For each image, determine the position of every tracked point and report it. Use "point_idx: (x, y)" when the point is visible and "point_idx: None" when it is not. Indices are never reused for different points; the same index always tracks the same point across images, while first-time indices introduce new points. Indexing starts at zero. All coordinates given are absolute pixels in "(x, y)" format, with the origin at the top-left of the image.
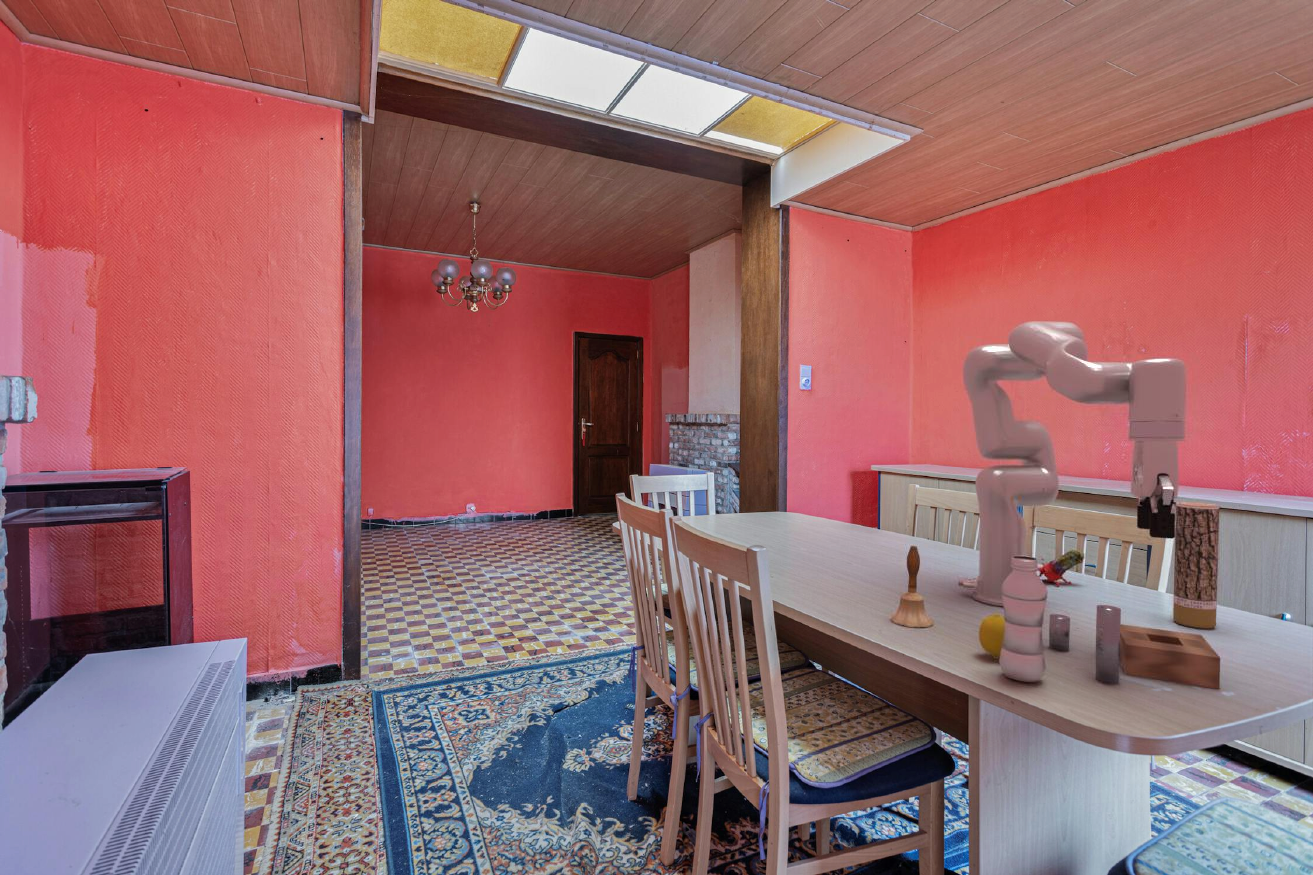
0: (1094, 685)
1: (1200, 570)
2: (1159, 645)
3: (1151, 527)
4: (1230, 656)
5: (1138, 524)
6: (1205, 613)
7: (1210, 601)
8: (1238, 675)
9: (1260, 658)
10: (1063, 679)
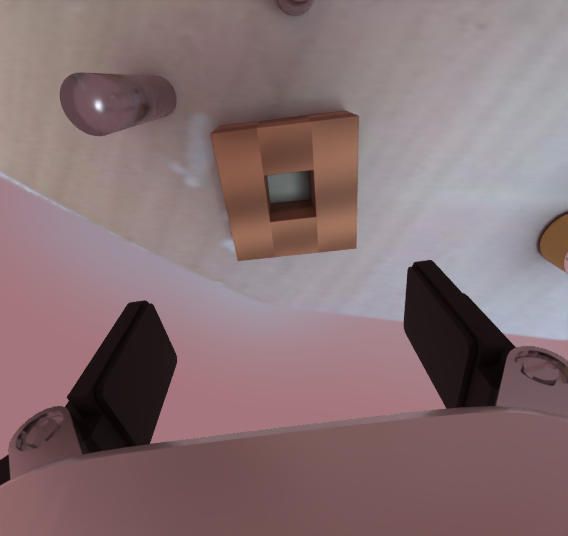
0: None
1: None
2: (244, 188)
3: (113, 332)
4: (402, 262)
5: (424, 271)
6: (557, 259)
7: None
8: (317, 262)
9: None
10: (99, 14)
